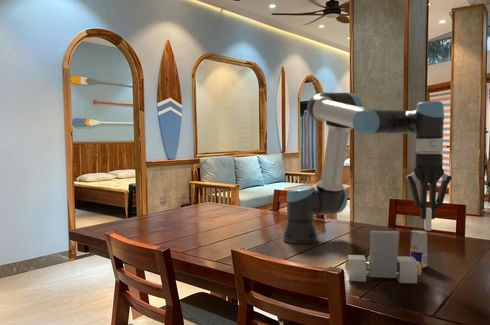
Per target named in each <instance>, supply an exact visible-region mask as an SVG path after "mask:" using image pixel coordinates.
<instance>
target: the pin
mask: <svg viewBox="0 0 490 325" xmlns="http://www.w3.org/2000/svg"><path fill="white" fill-rule="evenodd" d="M344 267H345V268H344V269H345V271H347V270H349V261H348V260H346V261H345V263H344ZM366 271H369V262H367V261H366ZM396 272H400V263H397V271H396ZM417 275H422V268H421V263H420V262H417Z"/></svg>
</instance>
